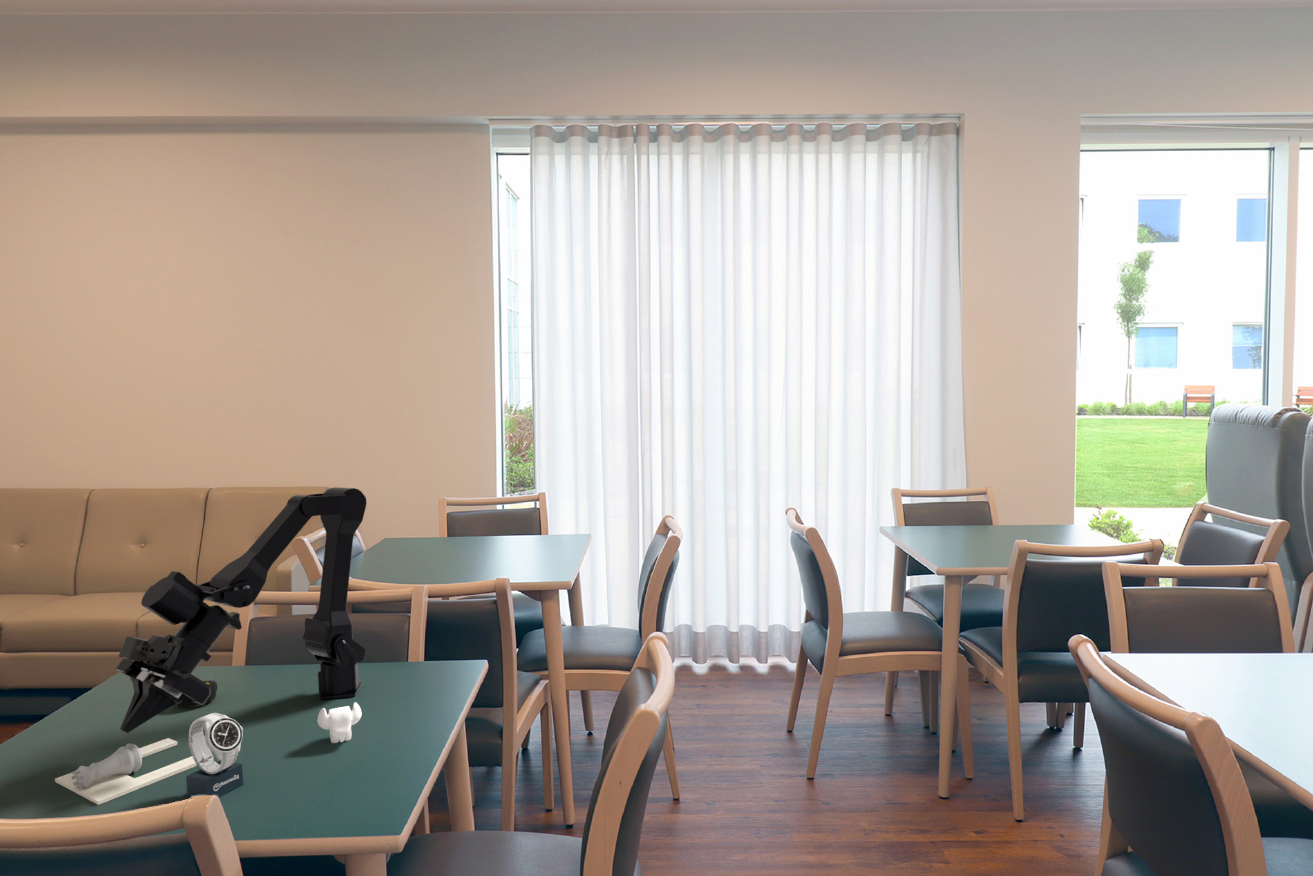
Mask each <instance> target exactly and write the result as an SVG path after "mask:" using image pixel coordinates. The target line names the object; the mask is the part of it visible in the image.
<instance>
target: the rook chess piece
mask: <svg viewBox="0 0 1313 876" xmlns="http://www.w3.org/2000/svg"><path fill="white" fill-rule="evenodd" d="M139 748H140V747H138V746H137V745H136V744H135V743H130V742H129V743H127V744H126V745H125V746H124V745H123V746H120V747H119V748H118V749H117V750H116V751H115V752H113V753H112V755H110V756H108V757H107V758H103V760H100V761H97V762H92V763H91V764H90V765H88V766H85V765H80V766H78V768H77V769H76V770H74V771H72V772H73V773H72V772H71V773H72V774H73V776H72V780H73V779H75V778H76V781H75V782H73V785H77V784H78V785H77V786H76V788H80V787H83V788H87V787H88V786H89V785H90V783H91V782H93V781H95V782H98V781H99V780H100V779H101V778H104V777H107V776H111V775H115V774H119V775H120V774H126V775H130V774H132V772H134V773H136V772H138V771H139V769H141V767H142V764H143V758H142V756H141V752H140V750H139ZM74 774H75V775H74Z"/></svg>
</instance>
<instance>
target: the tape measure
mask: <svg viewBox="0 0 1313 876" xmlns="http://www.w3.org/2000/svg"><path fill="white" fill-rule="evenodd" d="M202 681H203V682H205V683H206V684H208V685H210V686H211V695H210V697H209V698H208V699H207V701H206V702H205V703H204V705H206V704H207V703H210V702H212V701H214V700H215V698H216V696H217V691H218V683H217V682H216V681H215V680H202ZM178 699H180V700H181V701H182V702H181V703H177V704H176V706H177V707H181V708H188V707H189V708H190V707H191V708H194V707H195V708H196V707H201V706H202V705H201V704H198V703H195V702H193V701H192V699H191V698H189V697H188V696H186V695H184V694H183V693H182V694H181V695H180V697H179V698H178Z"/></svg>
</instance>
